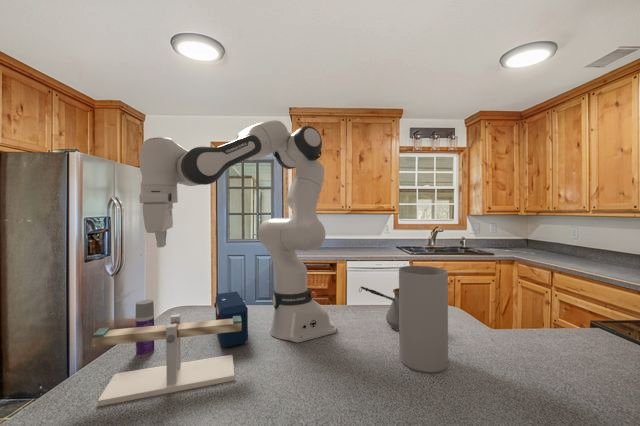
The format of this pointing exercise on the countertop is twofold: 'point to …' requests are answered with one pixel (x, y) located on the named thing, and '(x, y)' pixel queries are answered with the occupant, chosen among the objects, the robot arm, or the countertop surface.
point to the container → (144, 325)
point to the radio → (228, 308)
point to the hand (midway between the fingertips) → (161, 246)
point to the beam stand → (168, 374)
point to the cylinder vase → (423, 318)
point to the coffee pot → (393, 311)
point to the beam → (164, 331)
